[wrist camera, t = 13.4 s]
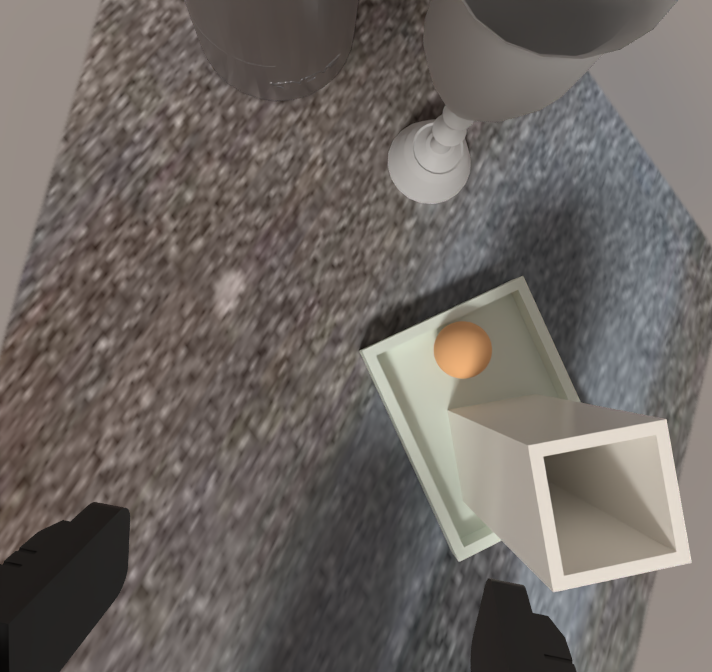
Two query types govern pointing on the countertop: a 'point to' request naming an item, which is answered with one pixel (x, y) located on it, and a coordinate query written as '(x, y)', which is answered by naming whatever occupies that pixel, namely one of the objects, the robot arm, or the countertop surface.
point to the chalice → (503, 73)
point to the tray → (463, 393)
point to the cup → (572, 487)
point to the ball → (462, 349)
